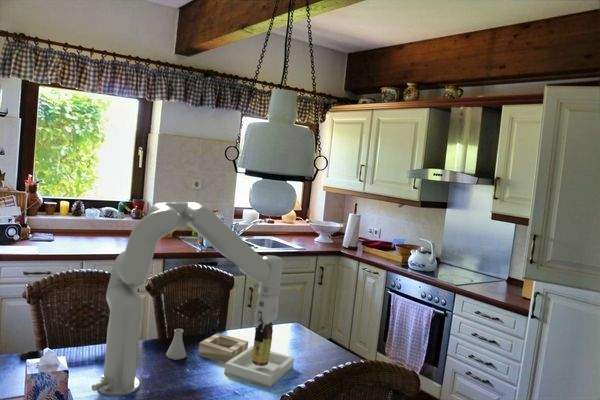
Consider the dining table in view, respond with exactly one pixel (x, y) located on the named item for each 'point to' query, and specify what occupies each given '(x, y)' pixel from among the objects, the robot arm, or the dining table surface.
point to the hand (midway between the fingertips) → (263, 338)
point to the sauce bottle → (263, 347)
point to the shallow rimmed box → (221, 347)
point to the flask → (177, 346)
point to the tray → (259, 368)
